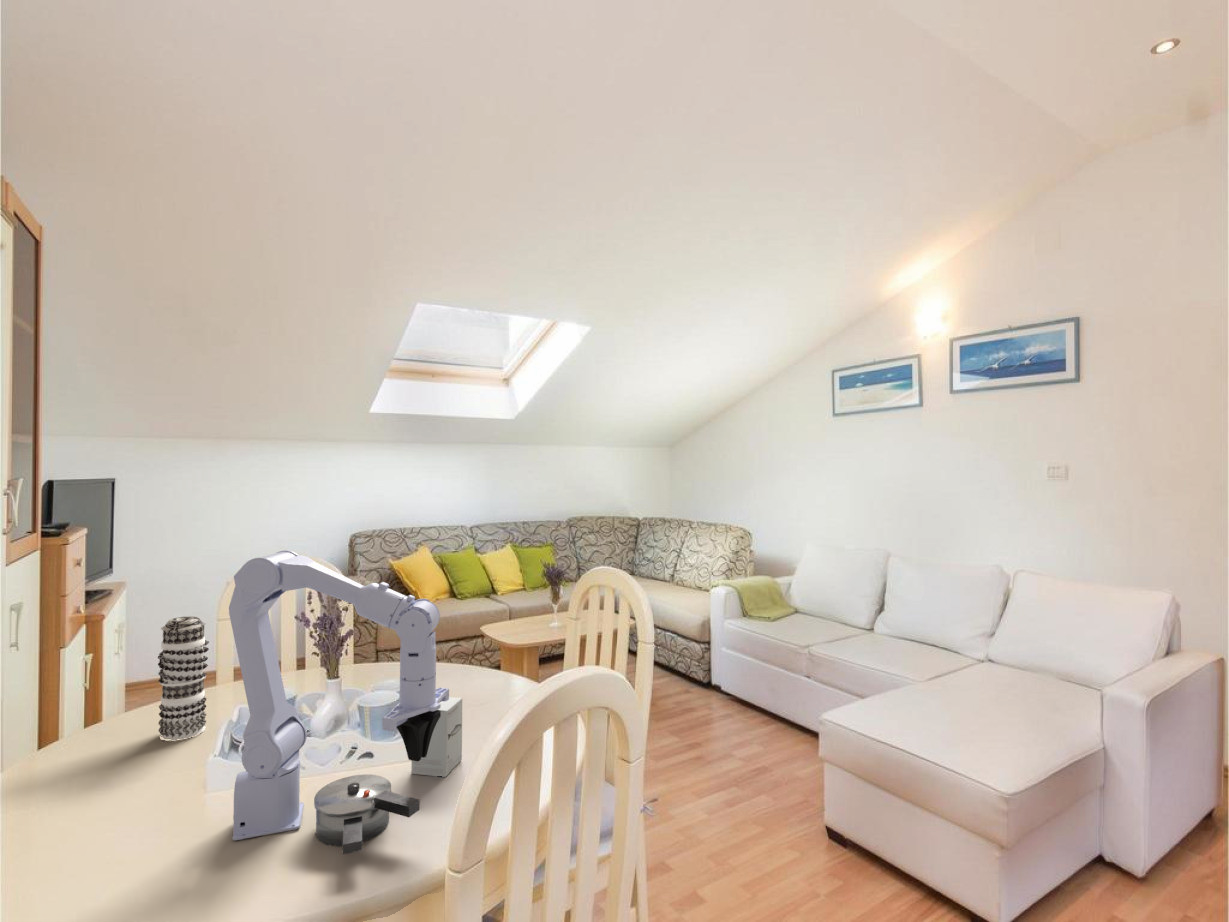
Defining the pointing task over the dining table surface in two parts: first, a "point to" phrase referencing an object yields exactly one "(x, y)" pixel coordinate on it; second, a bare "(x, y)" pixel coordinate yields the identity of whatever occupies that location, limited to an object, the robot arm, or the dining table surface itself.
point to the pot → (350, 828)
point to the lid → (362, 797)
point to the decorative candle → (182, 678)
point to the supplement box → (443, 742)
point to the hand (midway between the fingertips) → (417, 757)
